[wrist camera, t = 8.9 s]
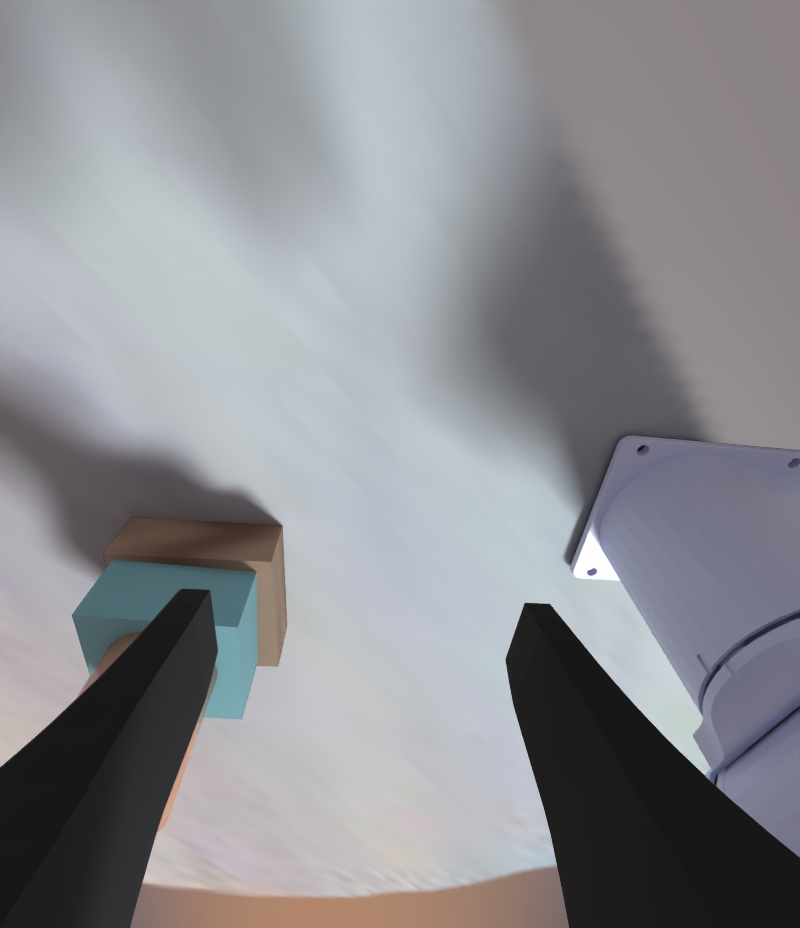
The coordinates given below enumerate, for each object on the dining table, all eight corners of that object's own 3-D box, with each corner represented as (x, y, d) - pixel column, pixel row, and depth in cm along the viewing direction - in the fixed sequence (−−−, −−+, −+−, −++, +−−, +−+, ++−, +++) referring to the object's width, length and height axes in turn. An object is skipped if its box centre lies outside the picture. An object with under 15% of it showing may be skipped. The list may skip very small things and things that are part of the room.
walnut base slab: (284, 519, 23) (271, 562, 20) (288, 619, 26) (278, 666, 24) (135, 511, 22) (102, 553, 20) (160, 614, 26) (135, 661, 23)
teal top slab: (256, 572, 20) (237, 627, 18) (258, 660, 23) (241, 719, 21) (112, 559, 20) (71, 615, 17) (133, 652, 23) (100, 711, 20)
